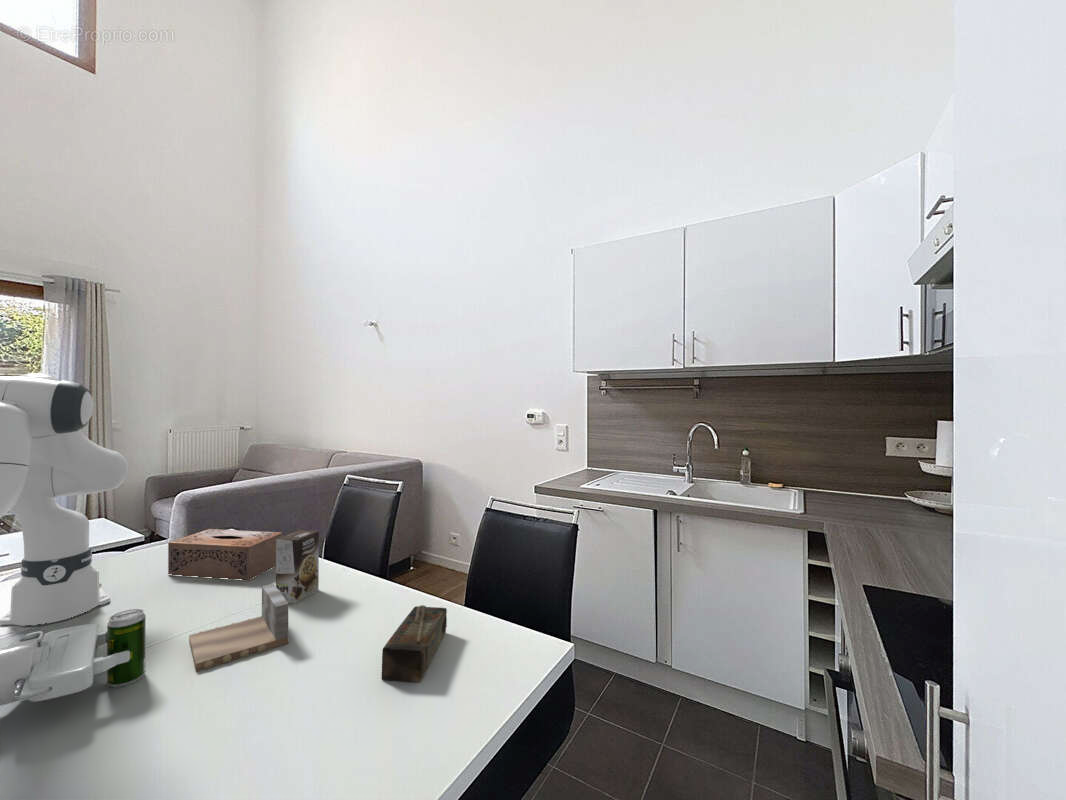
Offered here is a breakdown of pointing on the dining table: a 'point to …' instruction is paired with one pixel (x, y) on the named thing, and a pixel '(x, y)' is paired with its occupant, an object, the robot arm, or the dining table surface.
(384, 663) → the beverage carton
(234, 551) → the tissue box cover
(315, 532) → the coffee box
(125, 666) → the green soda can
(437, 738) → the dining table surface
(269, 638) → the roller pallet
